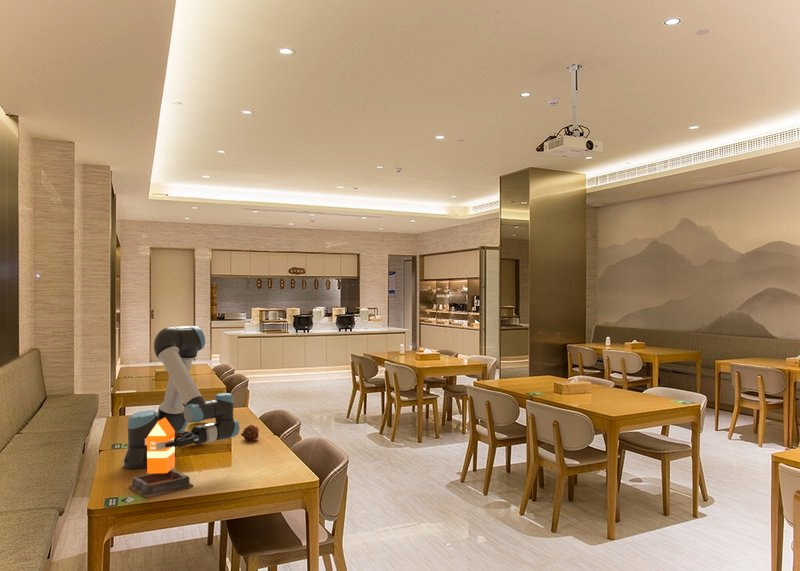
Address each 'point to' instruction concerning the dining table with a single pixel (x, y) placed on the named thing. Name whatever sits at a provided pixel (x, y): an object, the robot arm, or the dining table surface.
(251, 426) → the brown bumpy lump
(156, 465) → the orange juice
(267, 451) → the dining table surface
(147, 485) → the tray
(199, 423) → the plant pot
